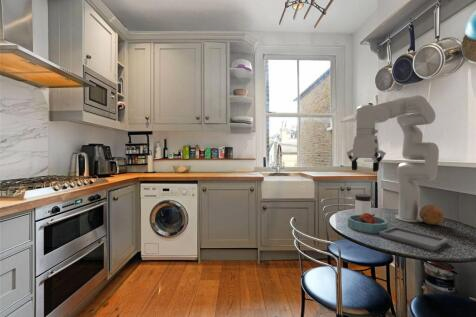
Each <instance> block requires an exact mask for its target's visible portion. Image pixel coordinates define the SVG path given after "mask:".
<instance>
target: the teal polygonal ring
mask: <svg viewBox="0 0 476 317" xmlns="http://www.w3.org/2000/svg"><path fill="white" fill-rule="evenodd" d="M360 217H361V215H355V214H352V215H348V216H347V227H349V228H350V229H352V230H354V229H355V231H358V232H362V233H369V234H379V232H380V231H383V230H386V229H388V220H387V219H385V218H382V217H379V216H375V215H374V218H375V220H376V223H375V224H369V223H363V222H361V220H360Z"/></svg>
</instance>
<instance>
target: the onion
mask: <svg viewBox="0 0 476 317" xmlns="http://www.w3.org/2000/svg"><path fill="white" fill-rule="evenodd" d="M419 211H420V213H419V217H420V218H421V219H422V220H423V221H422V222H423V223H425V224H427V225H439V224H440V223H442V222H443V220H444V213H443V211H442V210H441V209H440V208H439V207H438V206H435V205H433V204H426V205H423V206H422V207H421V209H419Z"/></svg>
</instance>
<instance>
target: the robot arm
mask: <svg viewBox="0 0 476 317" xmlns="http://www.w3.org/2000/svg"><path fill="white" fill-rule="evenodd" d="M394 118H396V120H397V121H396V122H397V124H398V125H399V127H400V128H401V131H402V133H403V143H402V144H403V145H402V157H403V158H404V159H405V160H408V161H405V162H404V161H403V162H401V163H399V164H398V165H397V167H396V174H397V177H398V179H397V180H398V205H397V206H398V211H397V212H398V214H395V216H394V218H395V219H397V220H398V221H403V222H407V223H408V222H409V223H422V222H424V221H423V220H422V219H421V218H420V216H419V213H420V204H421V203H420V202H421V201H420V199H421V198H420V197H421V194H420V193H421V188H420V185H419V184H418V182H417V181H422V182H423V181H424V182H432V181H435V180H436V178H437V176H438V169H439V168H438V167H439V155H440V150H439V146H438V145H437V144H436V143H434V142H429V141H428V142H425V141H423V138H424V137H423V136H424V134H423V132H422V130H421V129H420V128H419V127H418V126H423V125H424V126H425V125H431V124H432V123H434V122H435V120H436V111H435V109H434V108H433V107H432V105H431V104H430V102H429V101H428V100H427V99H426V98H425V97H424V96H422V95H420V94H419V95H418V94H417V95H411V96H405V97H400V98H397V99H393V100H390V101H389V100H388V101H387V102H381V103H378V104H375V105H373V104H372V105H371V104H365V105H360V106H358V107H357V108H356V114H355V121H356V128H355V129H356V130H355V131H356V133H355V136H354V139H353V144H352V149H350V150H349V151H347V152H346V154H347V157H348V160H350V162H351V170H352V171H357V170H358V161H357V160H359V159H372V160H373V162H372V172H374V173H376V172H377V173H378V172H379V169H380V163H381V161H382V160H384V157H385V155H386V152H385V151H384V150H381V149H380V147H379V139H378V136H377V135H376V134H377V133H378V129H376V124H379V123H380V124H381V123H385V122H386V121H388V120H389V119H394ZM409 160H411V161H409ZM413 161H415V162H413ZM417 161H424V162H417Z"/></svg>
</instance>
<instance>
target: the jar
mask: <svg viewBox="0 0 476 317" xmlns="http://www.w3.org/2000/svg"><path fill="white" fill-rule="evenodd" d="M354 196H355V198H354V199H355V200H354V202H355V203H354V215H362V214H364V213H369V214H371V213H372V212H371V210H372V209H371V208H372V206H371V205H372V196H371V195H369V194H365V193H364V194H361V193H359V194H358V193H357V194H355V195H354ZM371 215H372V214H371Z"/></svg>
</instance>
